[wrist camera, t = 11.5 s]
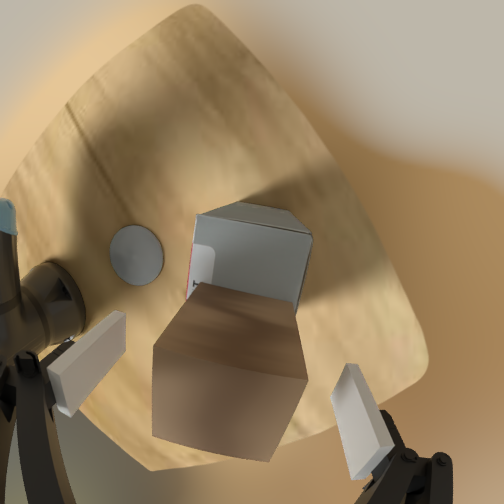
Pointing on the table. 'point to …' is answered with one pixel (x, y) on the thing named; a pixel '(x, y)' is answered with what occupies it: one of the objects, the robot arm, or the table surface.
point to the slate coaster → (136, 255)
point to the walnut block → (228, 373)
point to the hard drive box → (251, 251)
